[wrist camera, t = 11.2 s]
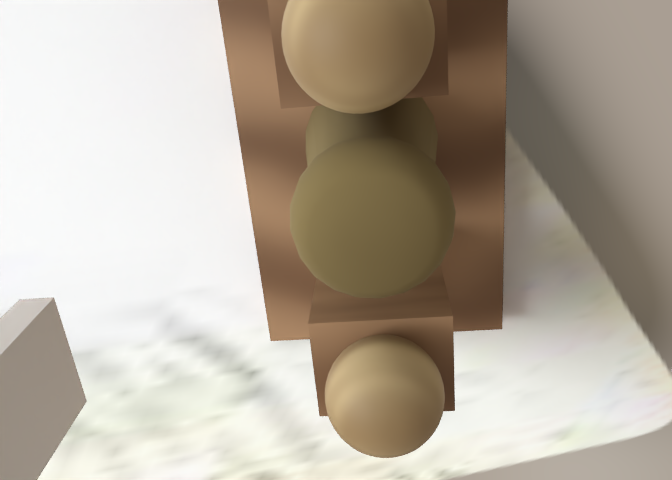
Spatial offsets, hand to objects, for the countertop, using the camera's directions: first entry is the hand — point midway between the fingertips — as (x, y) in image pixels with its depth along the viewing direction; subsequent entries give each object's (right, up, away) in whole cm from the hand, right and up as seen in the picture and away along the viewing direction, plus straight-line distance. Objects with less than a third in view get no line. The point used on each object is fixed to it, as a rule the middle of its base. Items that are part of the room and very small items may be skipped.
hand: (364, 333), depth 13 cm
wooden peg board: (+1, +7, +16) cm, 18 cm away
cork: (+1, +6, +15) cm, 16 cm away
